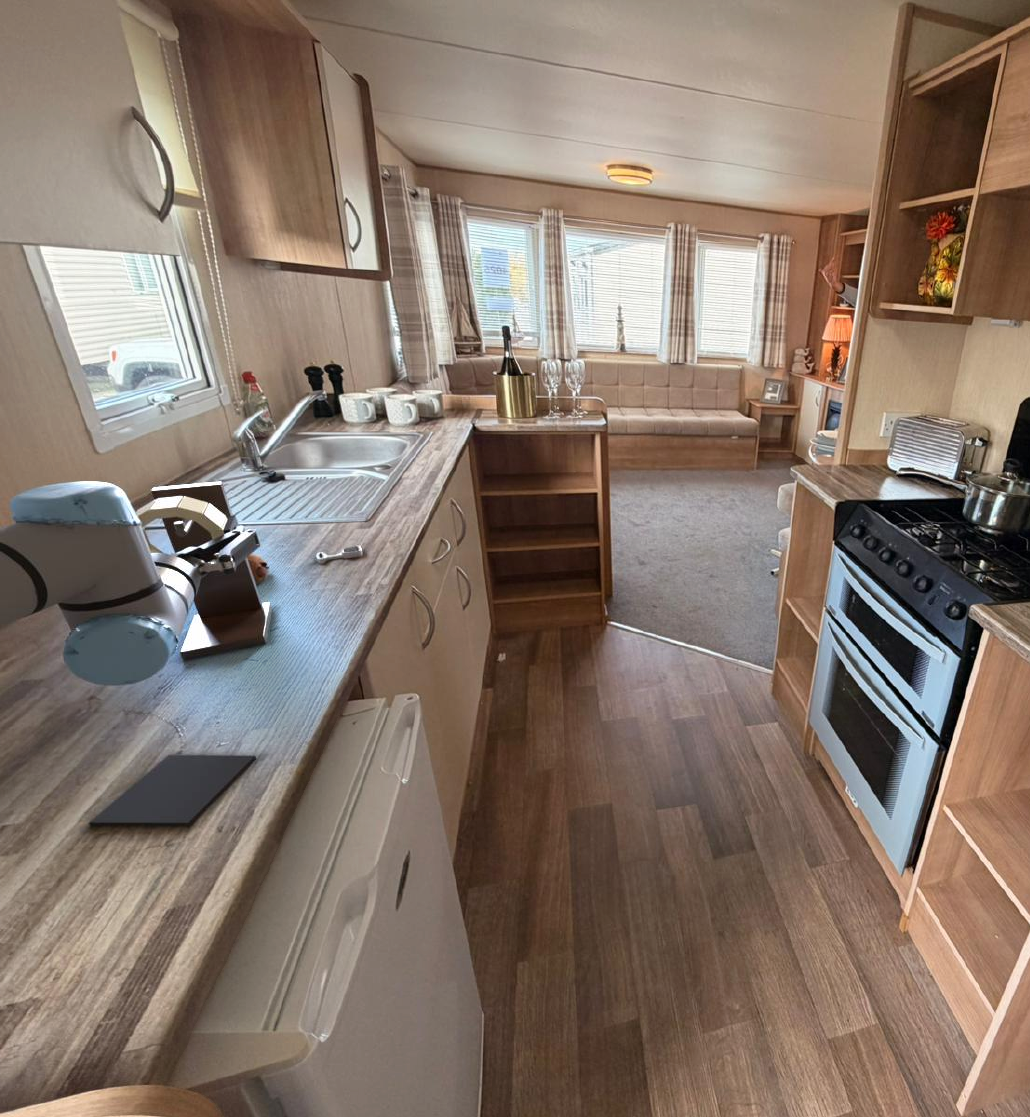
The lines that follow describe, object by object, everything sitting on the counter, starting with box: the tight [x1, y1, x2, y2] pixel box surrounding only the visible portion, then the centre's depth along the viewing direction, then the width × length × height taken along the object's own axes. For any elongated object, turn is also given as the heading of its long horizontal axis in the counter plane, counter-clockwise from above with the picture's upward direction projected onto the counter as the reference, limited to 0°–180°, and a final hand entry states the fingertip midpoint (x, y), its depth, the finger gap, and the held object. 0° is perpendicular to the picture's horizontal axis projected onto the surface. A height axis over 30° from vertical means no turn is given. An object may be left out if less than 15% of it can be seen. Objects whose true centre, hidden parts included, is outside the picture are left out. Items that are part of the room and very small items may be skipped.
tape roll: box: [135, 496, 228, 572], centre depth 82 cm, size 5×10×10 cm, turn 123°
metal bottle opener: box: [315, 545, 363, 565], centre depth 123 cm, size 4×8×1 cm, turn 125°
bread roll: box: [247, 553, 270, 586], centre depth 111 cm, size 10×10×8 cm
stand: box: [150, 481, 273, 662], centre depth 91 cm, size 13×10×24 cm
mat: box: [88, 754, 257, 828], centre depth 67 cm, size 10×10×1 cm
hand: (186, 529), depth 86 cm, fingers closed on tape roll, 10 cm apart
